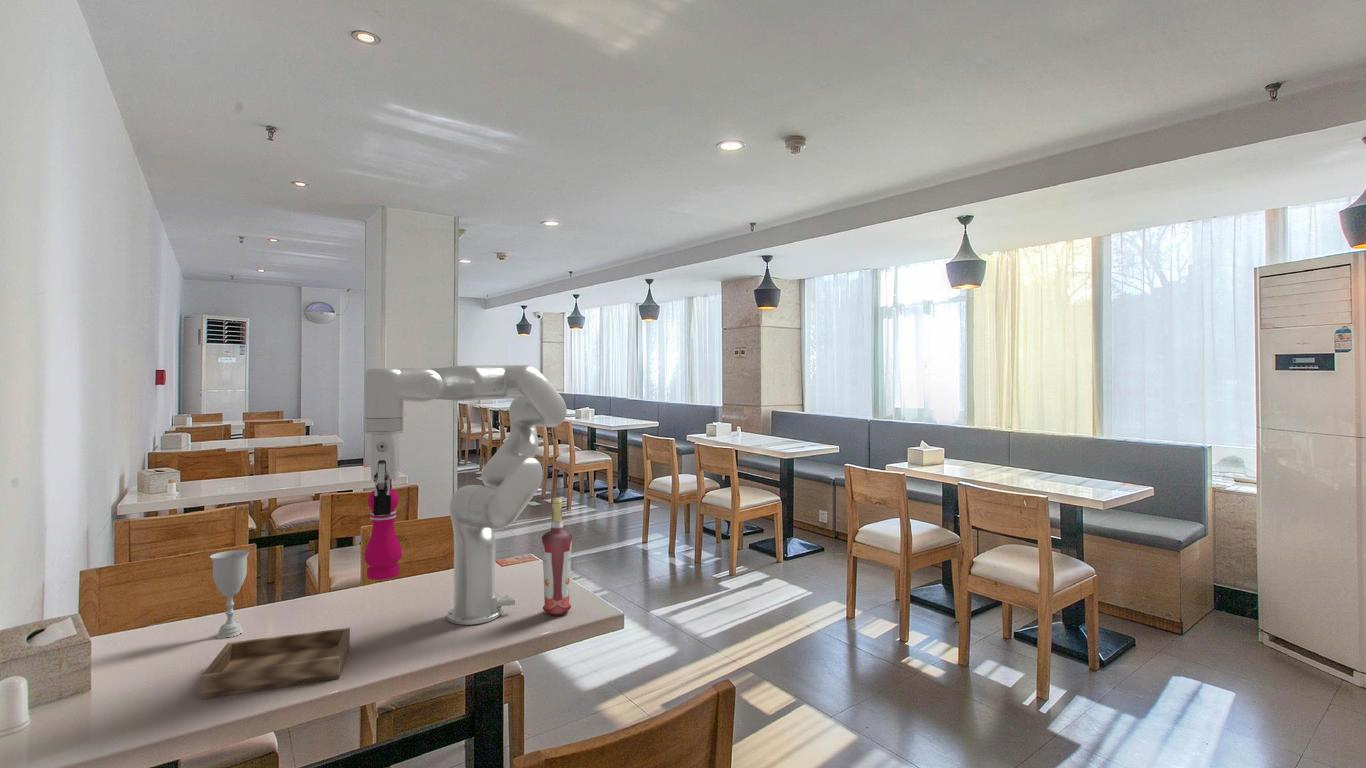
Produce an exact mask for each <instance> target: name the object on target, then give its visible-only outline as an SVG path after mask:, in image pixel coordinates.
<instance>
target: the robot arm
mask: <svg viewBox="0 0 1366 768" xmlns="http://www.w3.org/2000/svg"><path fill="white" fill-rule="evenodd" d="M363 375H364V379H363V382H364V383H363V434H364V435H370V436H369V439H370V440H369V451H370V452H369V453H370V454H369V457H370V458H369V459H370V461H369V463H370V477H371V481H372V482H374V490H375V496H374V515H375V516H378V515H390V514H391V495H390V488H391V489H393V482H396V481H397V480H398V479H399V476H400V469H399V468H400V465H399V463H400V459H399V454H400V451H399V450H400V448H399V447H400V446H399V435H400V434H404V402H412V403H413V402H414V403H426V402H430V401H433V400H446V401H456V402H457V401H461V402H464V401H469V402H471V401H473V402H474V401H482V400H483V401H486V400H502V399H507V400H508V399H513V400H512V401H511V402H510V405H509V410H508V415H509V424H510V431H509V435H508V436H507V439H506V440H505V441H504V443H503V444H501V446H500V447H499V448H498V450H497V451H496V452H495V453H494V455H492V457H491V458H490V459H489V460H488V462H487V463H486V464H485V465H484V467H483V468H482V471H481V480H482V483H483V484H484V485H479V484H468V485H464V486H461V487H460V488H458V489H457V490H456V491H454V493H453V494H452V496H451V498H450V502H449V515H450V520H451V524H452V530H453V531H452V532H453V608H451V609H450V610H449V611H447V613H446V617H447V618H446V619H447V620H448V622H450V623H452V624H455V625H463V626H464V625H465V626H466V625H467V626H469V625H470V626H471V625H472V626H473V625H478V624H479V625H480V624H485V623H488V622H491V621H493V620H495V619H497V618H499V617H500V616H501V615H502V612H503V607H504V606H515V605H516V598H515V596H511V597H509V595H503V596H499V595H497V592H496V591H497V590H496V537H495V534H494V531H493V530H503V529H507V528H508V527H510V526H511V525H513V523H514V522H515V521H516V520H517V519H518V518H519V516H520V515H521V514H522V512H523V511H524V510H525V508H526V507H527V505H528V504H529V503H530V501H532V499H533V498H534V496H535V495H536V493H537V492H538V490H539V489H540V486H541V485H542V482H543V473H544V472H543V467H542V465H541V463H540V461H539V460H537V458H535V457H536V455H537V452H538V451H539V438H538V432H537V427H541V428H543V427H545V428H554V427H557V426H560V425H561V424H562V423H564V421H565V420H566V418H567V414H568V413H567V412H568V411H567V410H568V409H567V405H566V402H565V400H564V399H563V396H561V394H560V393H559V392H558V390H557V389H556V388H555V387H554V386H553V384H552V383H550V381H549V380H548V379H547V378H546V377H545V375H544V374H543V373H541V371H540V370H538V369H537V368H536V367H534V366H531V365H528V364H527V365H526V364H525V365H524V364H523V365H522V364H520V365H519V364H518V365H517V364H516V365H514V364H512V365H511V364H510V365H509V364H508V365H507V364H505V365H502V364H501V365H497V364H496V365H491V364H490V365H488V364H487V365H485V364H484V365H473V364H472V365H471V364H469V365H455V366H446V367H398V368H395V367H371V368H368V369H367V370H365V373H364V374H363ZM392 480H393V482H392ZM386 484H387V485H386ZM386 488H387V489H386Z"/></svg>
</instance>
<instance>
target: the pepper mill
mask: <svg viewBox="0 0 1366 768" xmlns="http://www.w3.org/2000/svg"><path fill="white" fill-rule="evenodd" d="M386 485H387V484H386ZM386 489H387V488H386ZM390 495H391V514H390V515H378V516H375V515H374V496H375V489H374V490H373V491H371V492H370V494H369V495H368V497H367V506H368V507H369V508H370V510H371V512H369V513H370V518H369V519H370V520H372V522H371V523H372V529H371V534H370V537H369V539H368V542H367V544H366V547H365V550H364V553H363V554H364V555H363V558H364V559H363V560H364V561H365V563H366V564H367V565H368V567H367V568H366V578H367V579H369V580H373V581H374V580H378V581H379V580H380V581H381V580H388V579H392V578H395V577H397V576H398V575H400V564H398V562H399V561H400V560H401V558H402V556H403V551H402V545H401V543H400V540H399V538H398V537H397V534H396V530H395V518H397V509H396V508H397V507H398V505H399V503H400V497H399V494H398V492H397V491H396V490H395V489H393V488H392V489H391V488H390Z"/></svg>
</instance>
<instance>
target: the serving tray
mask: <svg viewBox="0 0 1366 768" xmlns="http://www.w3.org/2000/svg"><path fill="white" fill-rule="evenodd" d="M350 638H351V627H343V628H336V629H328V630H327V629H326V630H320V631H312V632H304V633H303V632H302V633H297V634H295V633H294V634H289V635H288V634H287V635H279V636H272V637H271V636H270V637H263V638H255V639H254V638H253V639H247V640H239V641H230V642H229V641H228V642H227V643H226V644H225V646H224V647H223V648H222V649H221V650H220V651H219V653H218V654H217V655H216V657H215V658H214V659H213V661H212V662H211V663H210V664H209V665H208V667H207V668H205V670H204V672H203V673H202V674H201V675H200V677H199V699H200V700H204V699H211V698H213V699H214V698H218V697H226V696H232V695H237V694H239V695H240V694H245V693H251V692H259V691H265V690H271V689H279V688H286V687H293V686H297V684H300V685H304V684H303V683H307V684H313V683H319V682H326V681H334V680H340V676H341V674H342V671H343V668H344V664H345V661H346V659H347V656H348V653H349V650H350V647H351V639H350ZM333 679H334V680H333ZM292 685H293V686H292Z"/></svg>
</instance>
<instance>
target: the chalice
mask: <svg viewBox="0 0 1366 768" xmlns="http://www.w3.org/2000/svg"><path fill="white" fill-rule="evenodd" d="M249 554H250V550H246V549H236V550H227V551H226V550H225V551H221V552H218V553H217V552H216V553H214V554H211V555H210V556H209V558H210V559H211V561H212V579H213V581H214V583H215V586H216V588H217V589H218V591H219V592H220V594H221V595H222V596H225V597H226V599H227V600H226V604H225V606H226V607H227V610H226V612H225V613H224V614H225V615H226V617H227V619H226V621H225V622H224V623H223V624H222V625H221V626H220V627H219V630H218V632H217V634H216V636H218V637H219V638H218V639H220V638H224V639H227V638H226V637H231V638H233V637H232V636H235V637H237V636H236V635H238V636H240V635H239V634H240V633H242V632H243V631H244V629H243V627H242V626H241V624H240V623H239V622H238V621H235V619H234V614H235V613H236V611H235V609H234V605H235V602H234V600H233V599H234V596H235V595H236V594H238V593H239V591H240V589H241V588H242V586H243V584H244V582H245V580H246V577H247V574H248V570H247V569H248V564H247V563H248V562H247V561H248V560H247V559H248V556H249ZM243 633H244V632H243ZM243 633H242V634H243Z"/></svg>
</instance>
